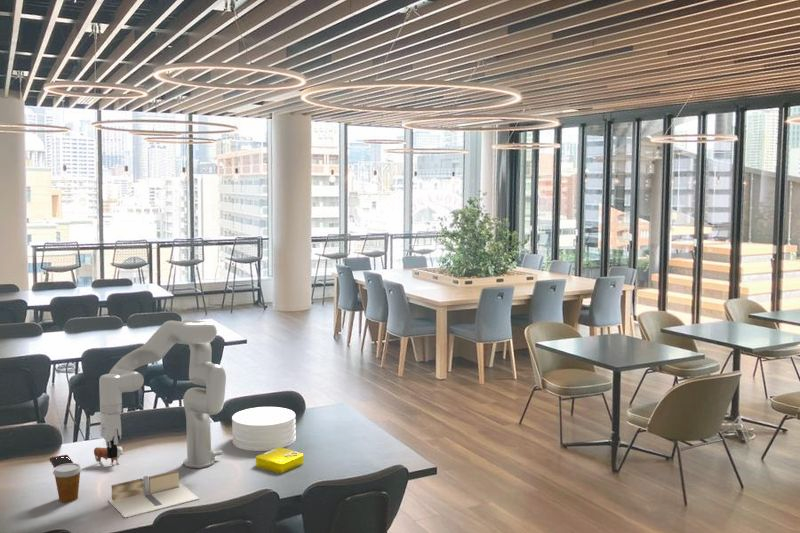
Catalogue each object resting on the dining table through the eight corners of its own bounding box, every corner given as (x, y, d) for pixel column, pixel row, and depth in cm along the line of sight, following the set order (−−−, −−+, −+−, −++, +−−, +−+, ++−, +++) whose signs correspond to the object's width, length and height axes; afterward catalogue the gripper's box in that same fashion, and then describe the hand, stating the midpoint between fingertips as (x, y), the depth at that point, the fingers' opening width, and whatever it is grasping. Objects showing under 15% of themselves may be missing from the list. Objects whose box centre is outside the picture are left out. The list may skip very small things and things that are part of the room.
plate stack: (264, 426, 374) (264, 403, 373) (308, 438, 358) (308, 413, 356) (219, 442, 351) (218, 417, 350) (264, 455, 335) (263, 429, 334)
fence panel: (142, 492, 292) (141, 478, 292) (143, 493, 291) (142, 479, 291) (112, 499, 286) (111, 485, 285) (113, 501, 285) (112, 486, 284)
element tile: (279, 456, 335) (279, 445, 334) (305, 463, 326) (305, 452, 326) (253, 467, 323) (253, 455, 322) (280, 474, 314) (280, 463, 314)
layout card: (180, 484, 303) (179, 466, 302) (199, 499, 289) (198, 481, 288) (108, 501, 287) (107, 483, 286) (124, 518, 273) (124, 499, 272)
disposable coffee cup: (59, 494, 293) (58, 463, 292) (86, 493, 294) (84, 462, 293) (50, 504, 284) (49, 472, 283) (77, 503, 285) (76, 471, 283)
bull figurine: (122, 468, 320) (121, 448, 319) (92, 465, 323) (91, 446, 322) (128, 464, 324) (127, 445, 323) (98, 461, 327) (97, 442, 326)
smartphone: (67, 454, 334) (75, 464, 322) (67, 456, 334) (75, 466, 322) (49, 457, 330) (56, 468, 318) (49, 459, 331) (56, 470, 318)
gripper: (94, 405, 291) (95, 453, 292) (106, 414, 279) (108, 465, 281) (115, 401, 295) (116, 449, 297) (128, 411, 283) (129, 460, 285)
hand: (112, 456), depth 289 cm, fingers closed
